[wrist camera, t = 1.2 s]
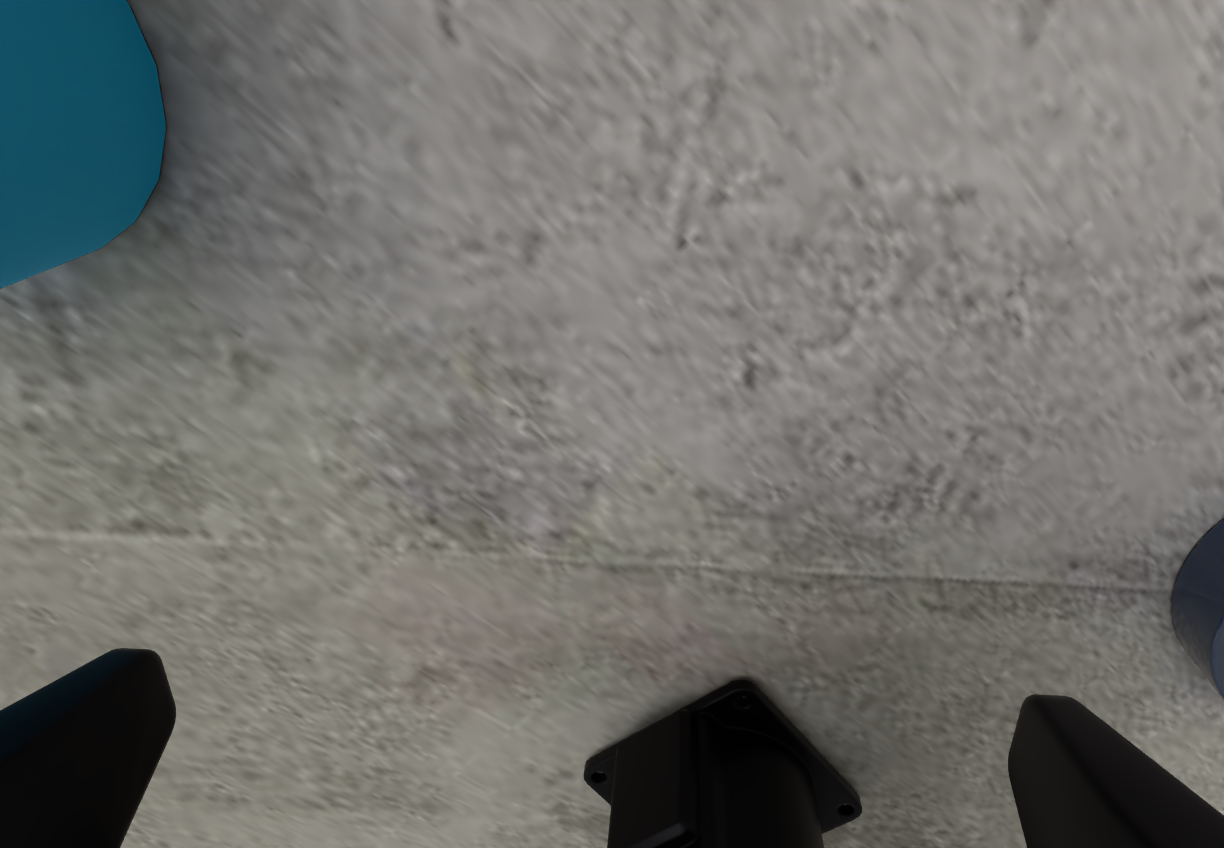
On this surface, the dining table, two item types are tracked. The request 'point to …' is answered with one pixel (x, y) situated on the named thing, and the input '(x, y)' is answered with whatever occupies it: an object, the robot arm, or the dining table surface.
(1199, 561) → the navy jar lid
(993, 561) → the dining table surface
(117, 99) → the mug
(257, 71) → the dining table surface
